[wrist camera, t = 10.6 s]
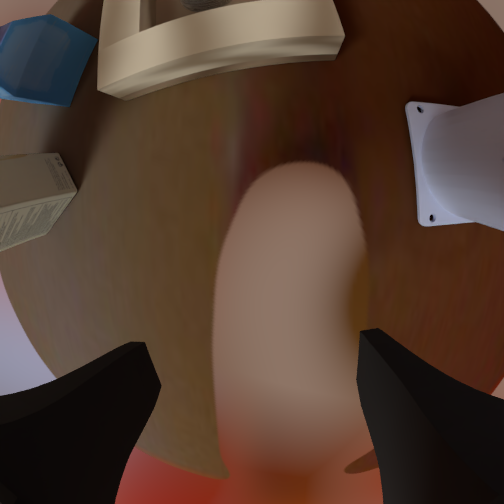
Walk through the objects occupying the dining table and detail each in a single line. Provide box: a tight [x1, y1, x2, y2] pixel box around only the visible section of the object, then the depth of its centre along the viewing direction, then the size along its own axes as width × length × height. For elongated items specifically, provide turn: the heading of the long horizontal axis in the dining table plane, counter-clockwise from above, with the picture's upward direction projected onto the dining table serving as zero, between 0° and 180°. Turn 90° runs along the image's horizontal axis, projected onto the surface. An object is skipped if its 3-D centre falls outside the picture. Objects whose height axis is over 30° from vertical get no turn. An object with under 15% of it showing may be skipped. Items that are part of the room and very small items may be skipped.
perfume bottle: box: [0, 14, 98, 107], centre depth 9 cm, size 6×6×12 cm
